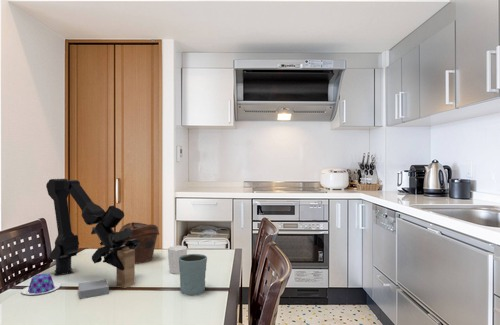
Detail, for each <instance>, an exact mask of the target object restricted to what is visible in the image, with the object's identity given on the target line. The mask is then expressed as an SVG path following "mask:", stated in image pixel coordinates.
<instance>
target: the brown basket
mask: <svg viewBox="0 0 500 325" xmlns="http://www.w3.org/2000/svg"><path fill="white" fill-rule="evenodd" d="M126 228H130V229H131V230H132V232H133V235H131V238H128V239H126V240H125V243H123V245H125V244H126V243H127V242H128V240H132V239H137V240H138V241H139V242H140V243H139V245H138V246H137V247H136V248H135V249H134V250H135V264H143V263H148V262H150V261H151V260H153V258H154V252H155V248H156V243H157V238H158V235H161V234H160V232H159V227H158V226H157V225H156V224H147V223H142V222H132V221H131V222H128V223H126V224H124V225H123V226H122V227H121V228H120V229H119V231H118V232H120V231H124V229H126Z"/></svg>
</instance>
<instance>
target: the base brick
mask: <svg viewBox="0 0 500 325" xmlns="http://www.w3.org/2000/svg"><path fill="white" fill-rule="evenodd" d="M109 292H110V286H109V284H108V280H107V279H106V278H103V279H98V280H89V281H84V282H78V297H79V299H88V298H93V297H99V296H104V295H109Z"/></svg>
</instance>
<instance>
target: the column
mask: <svg viewBox="0 0 500 325" xmlns="http://www.w3.org/2000/svg"><path fill="white" fill-rule="evenodd" d="M117 256H118V258H119V260H120V261H121V263H122V265H123V267H124V270H123V271H122V270H120V269H118V268H116V269H115V270H116V272H115V273H116V279H115V280H116V282H115V283H116V285H115V286H116V287H118V288H122V289H123V288H124V289H126V288H128V287H131V286H134V285H135V283H136V282H135V279H136V278H135V276H136V275H135V273H136V270H135V267H136V266H135V250H134V249H129V248H128V247H126V248H122V250H119V251H117Z"/></svg>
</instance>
